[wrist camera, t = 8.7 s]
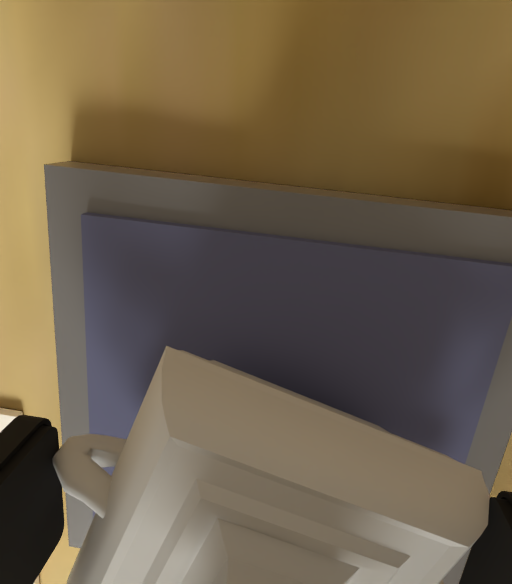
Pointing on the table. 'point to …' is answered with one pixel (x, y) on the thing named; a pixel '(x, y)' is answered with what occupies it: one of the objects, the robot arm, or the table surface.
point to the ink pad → (282, 303)
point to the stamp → (263, 490)
